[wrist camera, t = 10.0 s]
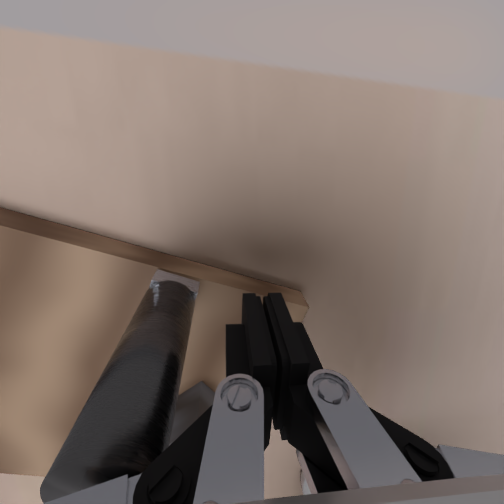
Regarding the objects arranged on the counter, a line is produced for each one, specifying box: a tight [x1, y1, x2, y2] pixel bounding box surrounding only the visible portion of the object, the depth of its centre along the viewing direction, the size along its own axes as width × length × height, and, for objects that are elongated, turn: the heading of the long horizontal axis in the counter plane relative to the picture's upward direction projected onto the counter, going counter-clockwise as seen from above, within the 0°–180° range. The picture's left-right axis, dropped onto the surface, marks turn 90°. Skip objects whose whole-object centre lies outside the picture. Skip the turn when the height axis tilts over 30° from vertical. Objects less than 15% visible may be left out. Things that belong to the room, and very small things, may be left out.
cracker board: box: [0, 208, 309, 477], centre depth 16 cm, size 22×20×6 cm
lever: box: [40, 269, 200, 503], centre depth 13 cm, size 20×4×9 cm, turn 158°
